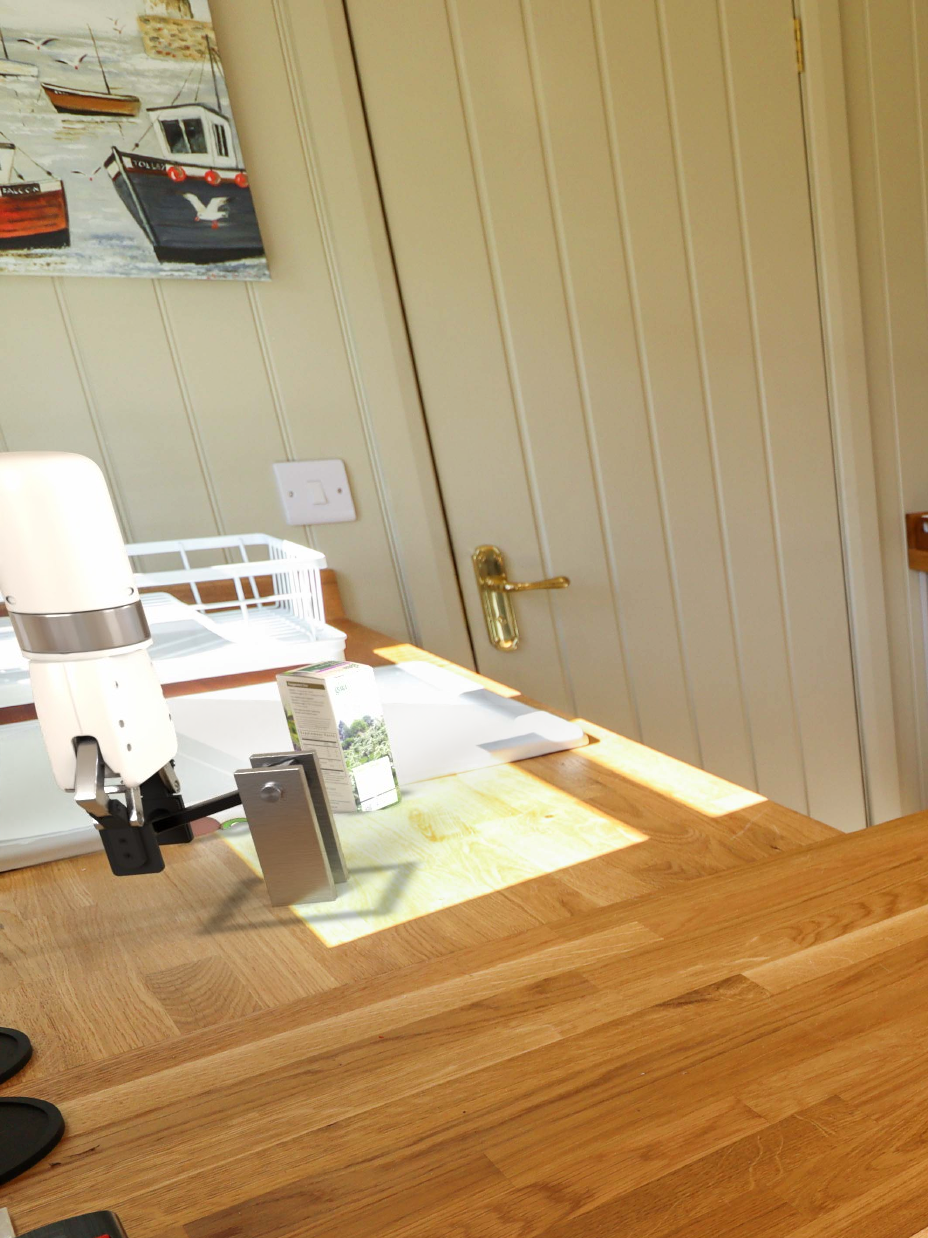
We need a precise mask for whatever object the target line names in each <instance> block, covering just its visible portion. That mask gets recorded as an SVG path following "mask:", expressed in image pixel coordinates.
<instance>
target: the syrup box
mask: <svg viewBox="0 0 928 1238" xmlns="http://www.w3.org/2000/svg"><path fill="white" fill-rule="evenodd" d="M275 681H276V685H277V689H278V692H279V697H280V701H281V704H282V709H283V711H284V712H283V713H284V715H285V719H286V724H287V728H288V730H289V731H288V733H289V736H290V739H291V743H292V747H293V751H303V750H316V753H317V756H318V760H319V764H320V768H321V771H322V775H323V779H324V783H325V787H326V790H327V794H328V798H329V802H330V805H331V809H332V813H333V815H339V814H350V813H361V812H362V813H363V812H373V811H375V812H376V811H383V810H384V811H385V810H386V809H389V808H391V807H393V806H395V805H398V804H400V803H402V801H403V799H402V794H401V789H400V785H399V781H398V776H397V772H396V768H395V767H396V766H395V763H394V758H393V754H392V749H391V746H390V741H389V735H388V732H387V727H386V723H385V718H384V714H383V713H384V712H383V709H382V705H381V700H380V695H379V691H378V687H377V682H376V678H375V673H374V669H373V667H372V666H370V665H369V664H364V663H360V662H354V661H347V660H322V661H318V662H315V663H311V664H308V665H304V666H300V667H298V668H294V669H290V670H287V671H283V672H280V673H277V674H275Z"/></svg>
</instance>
